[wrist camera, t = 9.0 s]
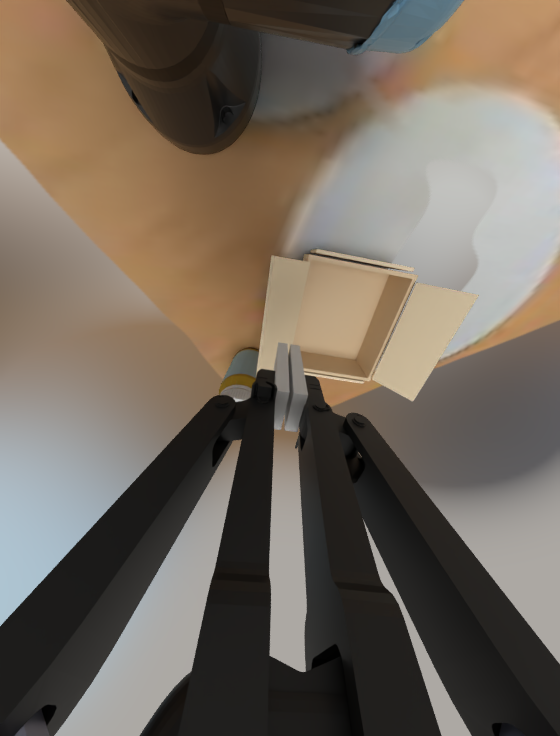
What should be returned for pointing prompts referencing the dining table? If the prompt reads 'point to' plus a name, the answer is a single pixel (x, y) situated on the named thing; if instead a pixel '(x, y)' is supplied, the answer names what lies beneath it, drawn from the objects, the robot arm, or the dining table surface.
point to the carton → (348, 314)
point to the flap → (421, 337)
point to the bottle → (240, 375)
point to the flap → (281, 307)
